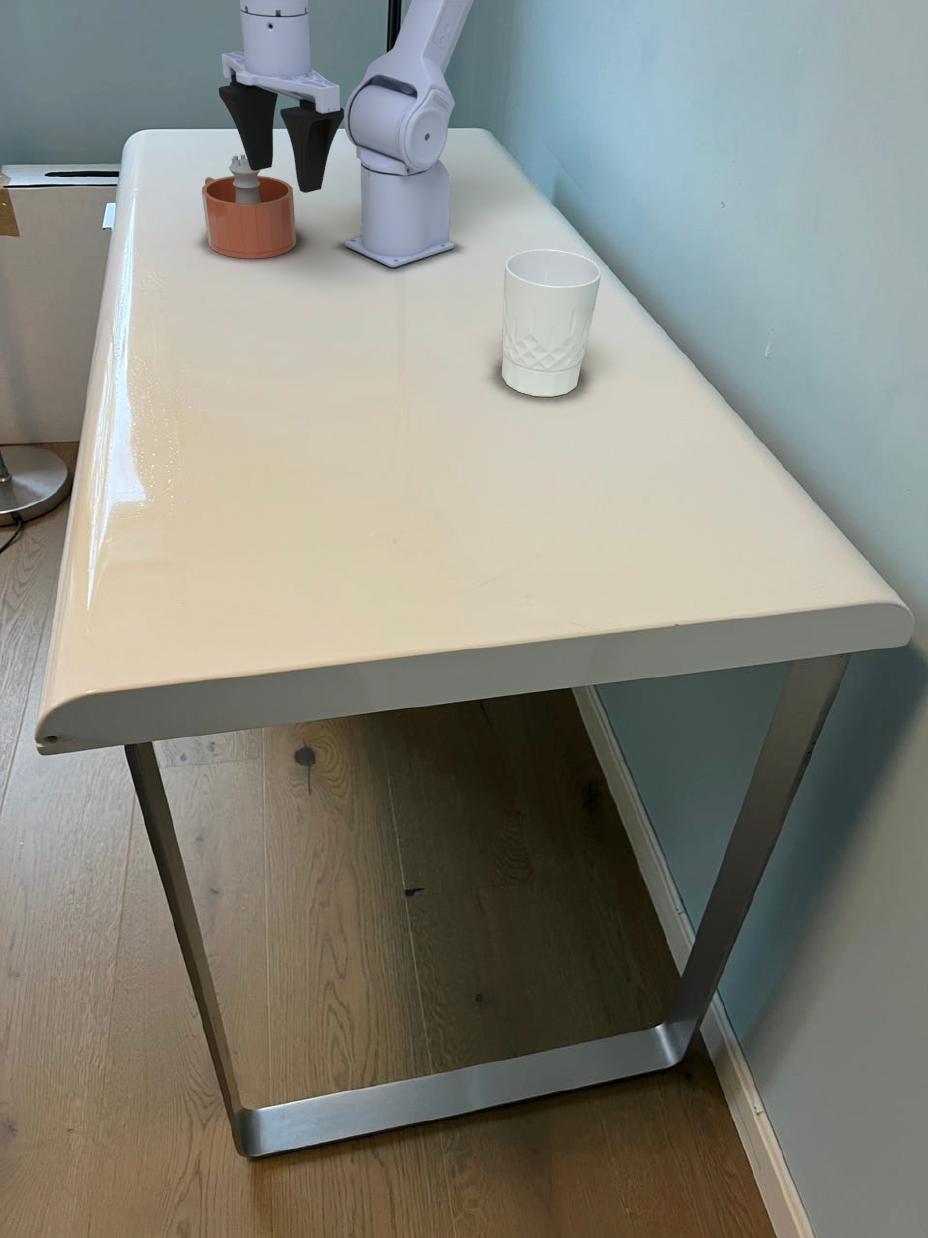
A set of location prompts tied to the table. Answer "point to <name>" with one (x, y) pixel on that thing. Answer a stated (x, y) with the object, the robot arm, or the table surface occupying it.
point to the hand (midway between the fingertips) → (285, 178)
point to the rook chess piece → (245, 181)
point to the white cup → (547, 319)
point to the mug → (249, 219)
